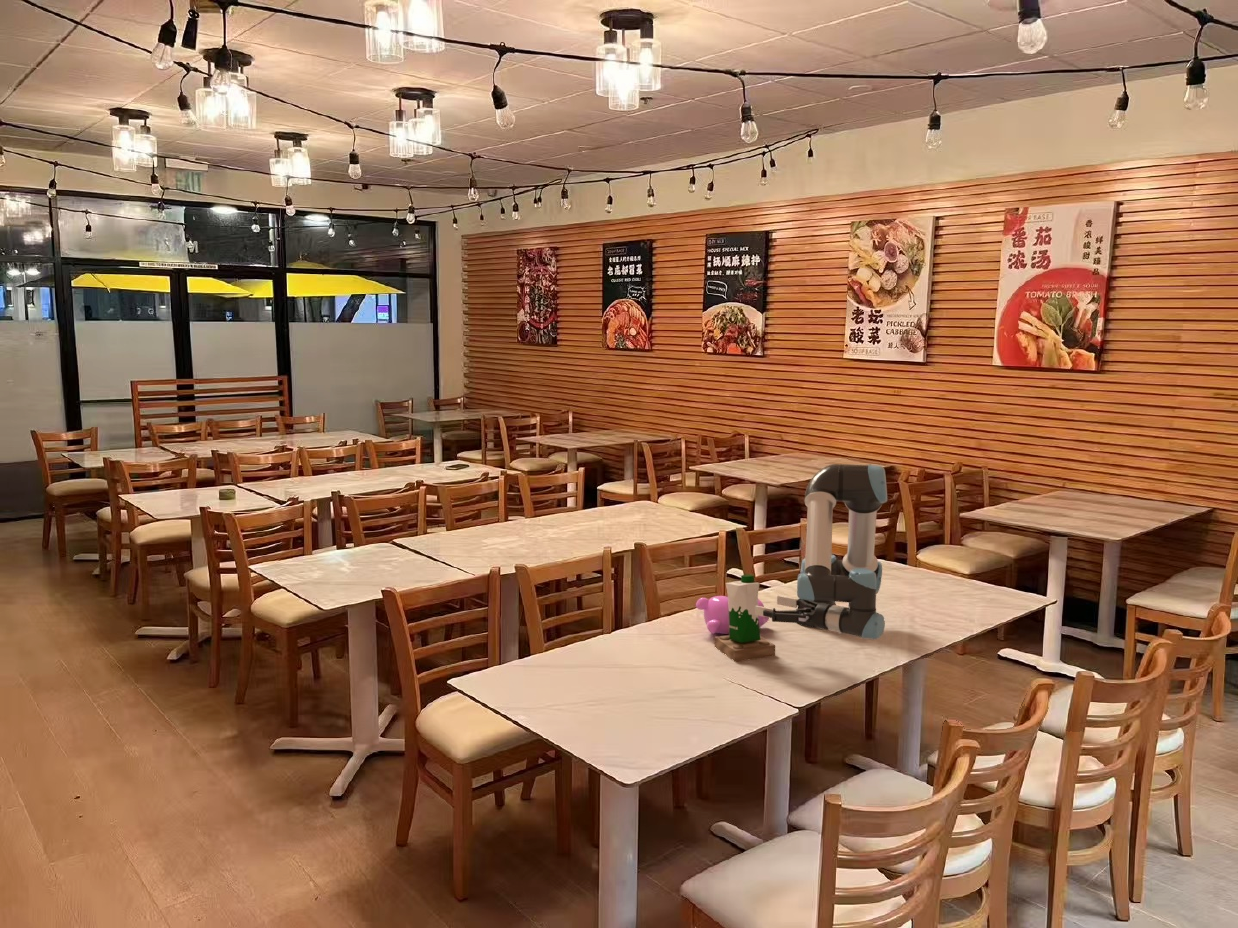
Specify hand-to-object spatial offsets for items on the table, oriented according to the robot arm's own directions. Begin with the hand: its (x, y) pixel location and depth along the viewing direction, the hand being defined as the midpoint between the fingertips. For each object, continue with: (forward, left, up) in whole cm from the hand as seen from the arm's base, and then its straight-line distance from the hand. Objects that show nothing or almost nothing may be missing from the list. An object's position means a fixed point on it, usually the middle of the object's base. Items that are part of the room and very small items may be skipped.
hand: (766, 604), depth 278 cm
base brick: (-7, -4, -17) cm, 19 cm away
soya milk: (-6, -4, -13) cm, 15 cm away
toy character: (-26, +2, -17) cm, 31 cm away
